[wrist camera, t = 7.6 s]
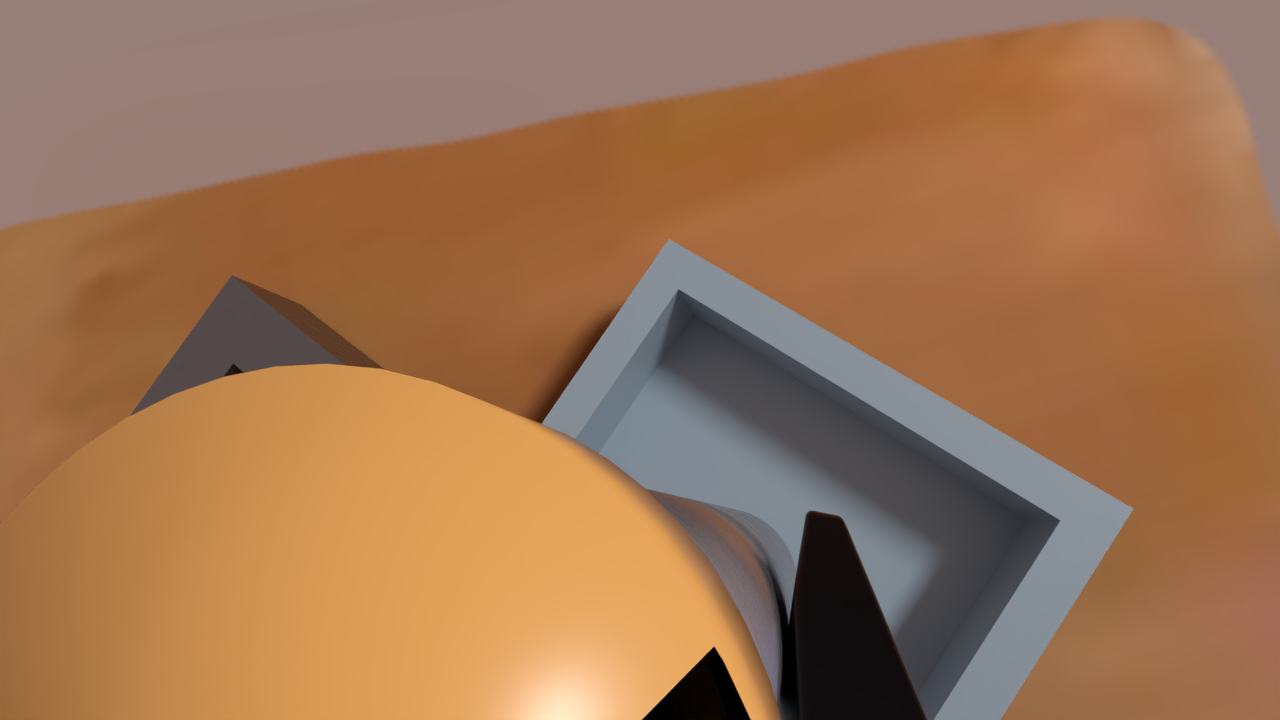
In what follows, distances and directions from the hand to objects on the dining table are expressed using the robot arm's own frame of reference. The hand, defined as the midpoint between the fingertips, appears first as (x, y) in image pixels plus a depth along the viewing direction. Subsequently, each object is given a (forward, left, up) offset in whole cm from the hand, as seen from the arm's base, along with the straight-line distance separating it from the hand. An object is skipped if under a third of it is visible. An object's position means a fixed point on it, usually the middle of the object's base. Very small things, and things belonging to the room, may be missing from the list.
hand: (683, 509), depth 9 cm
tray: (-1, -1, -11) cm, 11 cm away
